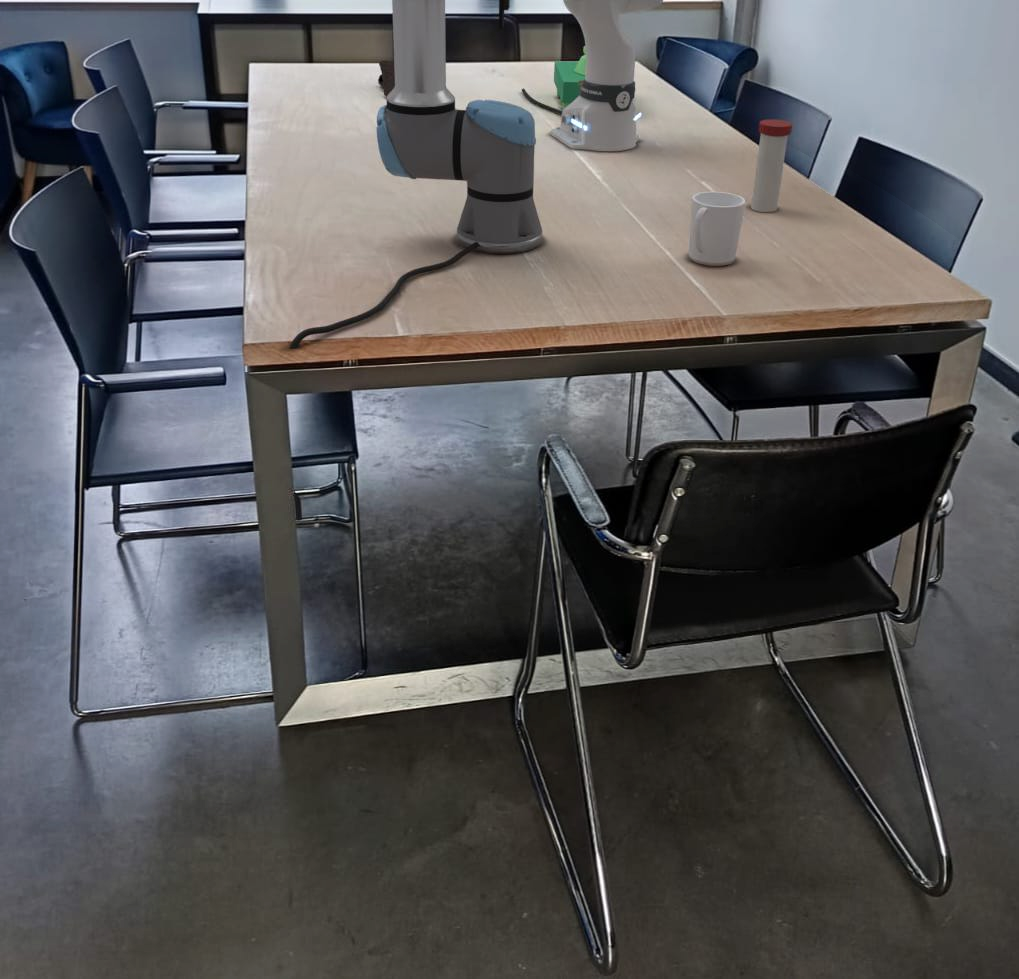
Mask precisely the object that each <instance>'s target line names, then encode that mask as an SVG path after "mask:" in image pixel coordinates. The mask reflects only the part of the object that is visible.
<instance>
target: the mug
mask: <svg viewBox="0 0 1019 979" xmlns="http://www.w3.org/2000/svg"><path fill="white" fill-rule="evenodd" d="M746 201H747V200H746V199H745V198H744V197H743V196H740V195H738V194H735V193H731V192H726V191H725V192H724V191H701V192H697V193H695V194H694V195H692V197H691V207H690V221H689V222H690V223H689V238H688V239H689V241H688V253H687V254H688V258H689V259H690V260H691V262H694V263H696V264H698V265H704V266H710V267H721V266H723V267H724V266H727V265H731V264H733V263H734V262H735V260H736V257H737V251H738V245H739V240H740V235H741V229H742V223H743V218H744V212H745V208H746Z"/></svg>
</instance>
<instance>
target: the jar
mask: <svg viewBox="0 0 1019 979" xmlns="http://www.w3.org/2000/svg"><path fill="white" fill-rule="evenodd" d="M788 136H789V135H786V136H771V135H765V134H762V133H760V138H759V144H758V151H757V158H756V159H757V160H756V166H755V174H754V181H753V189H752V195H751V203H750V209H751V210H752V211H756V212H759V213H773V212H776V211H777V210H778V203H779V198H780V190H781V184H782V178H783V170H784V164H785V157H786V151H787V144H788Z"/></svg>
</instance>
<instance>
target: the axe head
mask: <svg viewBox="0 0 1019 979" xmlns="http://www.w3.org/2000/svg"><path fill="white" fill-rule="evenodd" d="M378 66H379V68H380V72H381V74H379V75H378V79H377V84H378V85H379V86H380V87H381V88H382V89H383V95H384V96H385V97H387V96H388V94H389V93H390V92H391V91H392V90H393V89H394V87H395V68H394V60H388V59H387V60H380V61H379V62H378Z"/></svg>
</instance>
